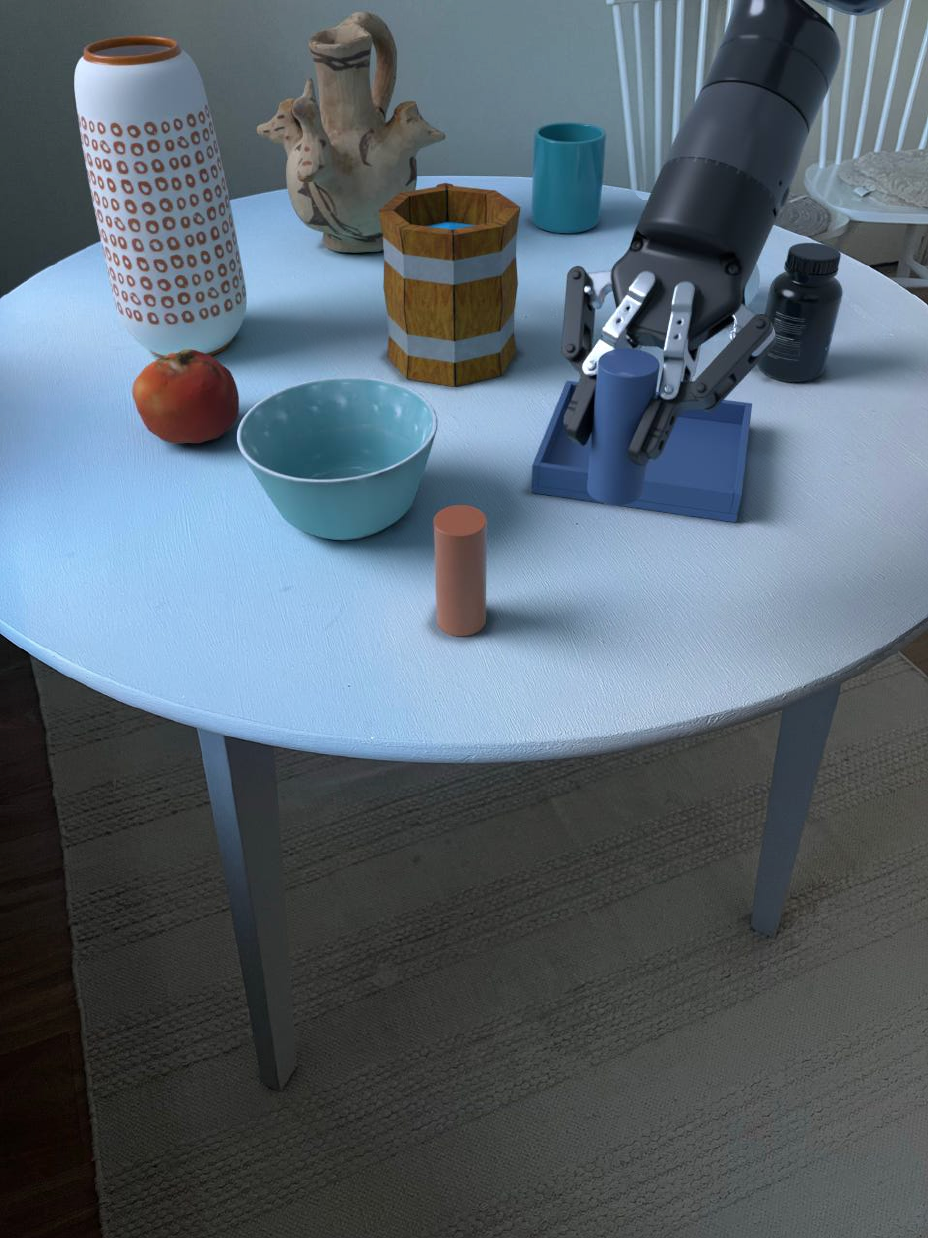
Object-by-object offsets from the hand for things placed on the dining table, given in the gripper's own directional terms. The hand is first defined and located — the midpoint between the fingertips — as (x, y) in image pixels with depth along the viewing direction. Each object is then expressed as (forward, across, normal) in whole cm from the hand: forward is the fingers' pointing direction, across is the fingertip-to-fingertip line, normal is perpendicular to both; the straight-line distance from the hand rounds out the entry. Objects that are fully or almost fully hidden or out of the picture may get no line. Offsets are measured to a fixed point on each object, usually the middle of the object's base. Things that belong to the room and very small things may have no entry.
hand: (605, 449), depth 61 cm
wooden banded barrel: (-12, -35, +35) cm, 51 cm away
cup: (-39, -44, +62) cm, 85 cm away
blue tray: (-6, -8, +28) cm, 30 cm away
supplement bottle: (-22, -4, +45) cm, 50 cm away
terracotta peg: (+13, -9, +9) cm, 18 cm away
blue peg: (+1, 0, +4) cm, 4 cm away
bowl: (+9, -25, +13) cm, 30 cm away
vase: (-1, -58, +24) cm, 63 cm away
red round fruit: (+8, -44, +14) cm, 47 cm away
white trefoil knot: (-26, -17, +49) cm, 58 cm away
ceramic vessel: (-22, -62, +45) cm, 80 cm away
